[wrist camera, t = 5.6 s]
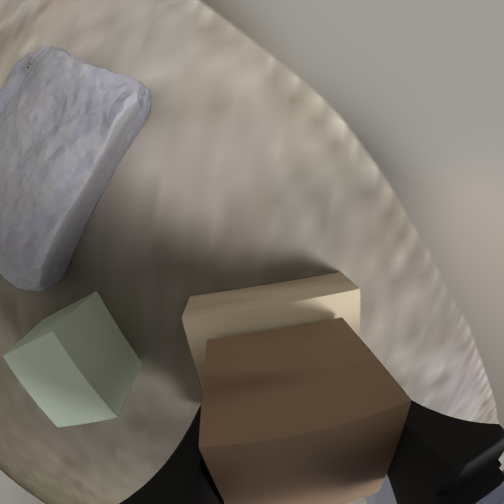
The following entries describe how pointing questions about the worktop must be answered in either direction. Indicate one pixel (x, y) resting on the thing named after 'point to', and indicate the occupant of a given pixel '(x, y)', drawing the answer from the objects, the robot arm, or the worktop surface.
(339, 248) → the worktop surface
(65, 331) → the sage cube
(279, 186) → the worktop surface
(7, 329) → the worktop surface
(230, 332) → the oak block
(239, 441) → the walnut cube
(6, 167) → the stone block
